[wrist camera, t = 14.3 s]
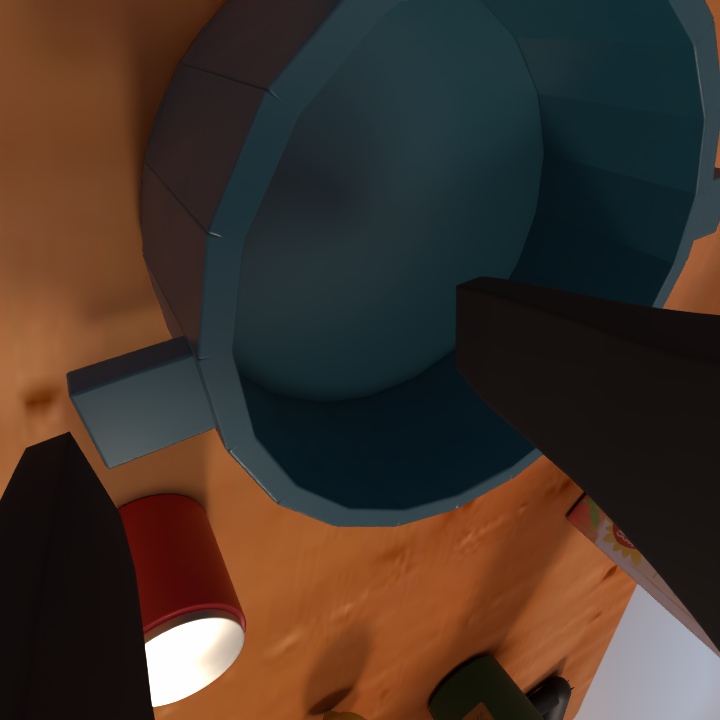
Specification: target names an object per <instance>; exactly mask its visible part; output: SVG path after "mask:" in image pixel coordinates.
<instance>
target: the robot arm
mask: <svg viewBox="0 0 720 720" xmlns="http://www.w3.org/2000/svg"><path fill="white" fill-rule="evenodd" d="M455 368H456V369H457V370H458V371H459V373H460V374H461V375H462V376H463V378H464V379H465V380H466V381H467V383H468V384H469V385H470V386H471V387H472V388H473V390H474V391H475V392H476V393H477V394H478V395H479V396H480V397H481V399H482V400H483V401H484V402H485V403H486V404H487V405H488V406H489V407H490V408H491V409H493V410H494V411H495V412H496V413H497V414H498V415H499V416H500V417H501V418H503V419H504V420H505V421H506V422H507V423H508V424H509V425H510V426H512V427H513V428H514V429H515V430H516V431H517V432H518V433H520V434H521V435H522V436H523V437H524V438H525V439H526V440H528V441H529V442H530V443H531V444H532V445H533V446H535V447H536V448H537V449H538V450H539V451H540V452H541V453H543V454H544V455H545V456H546V457H547V458H548V459H549V460H551V461H552V462H553V463H554V464H555V465H556V466H557V467H559V468H560V469H561V470H562V471H563V472H564V473H565V474H567V475H568V476H569V477H570V478H571V479H572V480H573V481H574V482H575V483H576V484H577V485H578V486H579V487H580V488H581V489H582V490H583V491H584V492H585V493H586V494H587V495H588V496H589V497H590V498H591V499H592V500H593V501H594V502H595V503H596V504H597V505H598V507H599V508H600V509H601V510H602V511H603V512H604V513H605V514H606V515H607V516H608V517H609V518H610V519H611V520H612V522H613V523H614V524H615V525H616V526H617V527H618V528H619V529H620V530H621V531H622V533H623V534H624V535H625V536H626V537H627V538H628V539H629V541H630V542H631V543H632V544H633V545H634V546H635V547H636V549H637V550H638V551H639V552H640V553H641V554H642V555H643V557H644V558H645V559H646V560H647V561H648V562H649V563H650V565H651V566H652V567H653V568H654V569H655V570H656V572H657V573H658V574H659V575H660V577H661V578H662V579H663V580H664V582H665V583H666V584H667V585H668V586H669V588H670V589H671V590H672V591H673V593H674V594H675V595H676V596H677V598H678V599H679V600H680V601H681V602H682V604H683V605H684V606H685V607H686V609H687V610H688V611H689V612H690V614H691V615H692V616H693V617H694V619H695V620H696V621H697V623H698V624H699V625H700V627H701V628H702V629H703V631H704V632H705V633H706V635H707V636H708V637H709V639H710V640H711V641H712V643H713V644H714V645H715V647H716V648H717V649H718V651H719V652H720V315H712V314H702V313H692V312H684V311H676V310H669V309H662V308H656V307H649V306H643V305H637V304H631V303H625V302H619V301H614V300H609V299H603V298H598V297H593V296H588V295H583V294H578V293H573V292H568V291H563V290H559V289H554V288H549V287H544V286H539V285H534V284H529V283H524V282H519V281H513V280H508V279H502V278H495V277H485V276H480V277H477V278H475V279H472V280H469V281H467V282H464V283H461V284H459V285H456V348H455ZM0 720H155V718H154V712H153V705H152V697H151V688H150V680H149V672H148V664H147V656H146V648H145V640H144V631H143V623H142V615H141V607H140V600H139V592H138V584H137V577H136V570H135V566H134V562H133V558H132V554H131V550H130V546H129V543H128V539H127V535H126V532H125V528H124V524H123V521H122V517H121V514H120V513H119V511H118V509H117V508H116V506H115V505H114V503H113V501H112V500H111V498H110V496H109V495H108V493H107V492H106V490H105V488H104V487H103V485H102V483H101V482H100V480H99V479H98V477H97V475H96V474H95V472H94V470H93V469H92V467H91V465H90V464H89V462H88V461H87V459H86V457H85V456H84V454H83V452H82V451H81V449H80V448H79V446H78V444H77V443H76V441H75V439H74V438H73V436H72V435H71V433H70V432H67V433H65V434H62V435H59V436H57V437H54V438H51V439H49V440H46V441H43V442H41V443H38V444H36V445H33V446H30V447H28V448H26V450H25V451H24V453H23V455H22V457H21V459H20V461H19V463H18V465H17V467H16V469H15V471H14V473H13V475H12V477H11V479H10V481H9V483H8V485H7V487H6V489H5V491H4V494H3V496H2V498H1V500H0Z"/></svg>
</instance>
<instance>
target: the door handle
mask: <svg viewBox="0 0 720 720" xmlns="http://www.w3.org/2000/svg"><path fill="white" fill-rule="evenodd" d="M568 681H569V680H568ZM568 681H566V680H565V679H564V678H562V677H559V676H555V677H553V678H551V679H550V680H549V682H548V684H547V685H546V686H544V687H543V688H541V689H540V690H538V691H537V692H535V693H534V694H532V695H531V696H529V697H528V699H529V701H530V702H531V703H532V704H533V705H534V707H535V708H536V709H537V710H538V712H539V713H540V714H541V715H542V717H543V718H544V719H545V720H563V717H564V714H565V711H566V708H567V705H568V702H569V699H570V696H571V690H572V689H573V688H574V687H573V688H570V685H569V683H568Z"/></svg>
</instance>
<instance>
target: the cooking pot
mask: <svg viewBox="0 0 720 720" xmlns="http://www.w3.org/2000/svg"><path fill="white" fill-rule="evenodd" d="M713 19H714V17H713V15H712V13H711V11H710V9H709V7H708V5H707V3H706V1H705V0H228V1H227V2H226V3H225V4H224V5H223V6H222V8H221V9H220V10H219V11H218V12H217V13H216V14H215V15H214V16H213V17H212V19H211V20H210V21H209V22H208V23H207V24H206V25H205V26H204V27H203V28H202V30H201V31H200V33H199V34H198V36H197V37H196V39H195V40H194V42H193V43H192V45H191V46H190V48H189V49H188V51H187V52H186V54H185V55H184V57H183V58H182V60H181V61H180V63H179V64H178V67H177V69H176V71H175V73H174V75H173V77H172V79H171V81H170V83H169V85H168V88H167V90H166V92H165V94H164V96H163V98H162V100H161V102H160V105H159V109H158V112H157V115H156V118H155V121H154V125H153V128H152V131H151V134H150V137H149V140H148V145H147V151H146V155H145V161H144V169H143V175H142V181H141V228H142V237H143V257H144V260H145V263H146V266H147V269H148V271H149V274H150V277H151V281H152V285H153V288H154V291H155V293H156V295H157V298H158V301H159V303H160V306H161V309H162V312H163V315H164V318H165V321H166V324H167V327H168V329H169V331H170V333H171V335H172V338H173V339H171V340H168V341H165V342H162V343H159V344H155V345H152V346H149V347H146V348H143V349H140V350H137V351H133V352H130V353H127V354H124V355H121V356H118V357H115V358H112V359H108V360H105V361H102V362H99V363H96V364H93V365H90V366H86V367H83V368H80V369H77V370H74V371H71V372H69V373H67V385H68V392H69V397H70V399H71V401H72V403H73V405H74V407H75V409H76V411H77V412H78V414H79V416H80V418H81V420H82V422H83V424H84V426H85V428H86V430H87V431H88V433H89V435H90V437H91V439H92V441H93V443H94V445H95V447H96V448H97V450H98V452H99V454H100V456H101V458H102V460H103V462H104V464H105V466H106V467H107V468H109V469H110V468H114V467H116V466H119V465H121V464H124V463H126V462H129V461H131V460H134V459H137V458H139V457H142V456H144V455H147V454H149V453H152V452H154V451H157V450H160V449H162V448H165V447H167V446H170V445H172V444H175V443H177V442H180V441H183V440H185V439H188V438H190V437H193V436H195V435H198V434H200V433H203V432H206V431H208V430H211V429H213V428H216V430H217V432H218V434H219V436H220V439H221V441H222V443H223V445H224V447H225V449H226V450H227V452H228V453H229V454H230V455H231V456H232V457H233V458H234V459H235V460H236V461H237V462H238V463H239V464H240V465H241V467H242V468H243V469H244V470H245V471H246V472H247V473H248V474H249V475H250V476H251V477H252V478H253V479H254V480H255V481H256V483H257V484H258V485H259V486H260V487H261V488H262V489H263V490H264V491H265V492H266V493H267V494H268V495H269V496H270V498H271V499H272V500H273V501H274V502H276V503H277V504H278V505H281V506H283V507H286V508H289V509H291V510H294V511H296V512H299V513H301V514H304V515H307V516H309V517H312V518H314V519H317V520H320V521H322V522H325V523H327V524H330V525H332V526H337V527H396V526H400V525H403V524H407V523H410V522H414V521H417V520H421V519H424V518H428V517H431V516H434V515H438V514H441V513H445V512H448V511H452V510H454V509H456V508H459V507H461V506H463V505H464V504H466V503H468V502H470V501H472V500H474V499H475V498H477V497H479V496H481V495H483V494H485V493H487V492H488V491H490V490H492V489H494V488H496V487H498V486H499V485H501V484H503V483H505V482H507V481H509V480H510V479H513V478H514V477H515V476H517V475H518V474H519V473H520V472H522V471H523V470H524V469H525V468H527V467H528V466H529V465H531V464H532V463H533V462H534V461H536V460H537V459H538V458H539V457H541V456H542V455H543V453H541V452H540V451H539V450H538V449H537V448H536V447H535V446H533V445H532V444H531V443H530V442H529V441H528V440H526V439H525V438H524V437H523V436H522V435H521V434H520V433H518V432H517V431H516V430H515V429H514V428H513V427H512V426H510V425H509V424H508V423H507V422H506V421H505V420H504V419H503V418H501V417H500V416H499V415H498V414H497V413H496V412H495V411H494V410H493V409H491V408H490V407H489V406H488V405H487V404H486V403H485V402H484V401H483V400H482V399H481V397H480V396H479V395H478V394H477V393H476V392H475V391H474V390H473V388H472V387H471V386H470V385H469V384H468V383H467V381H466V380H465V379H464V378H463V376H462V375H461V374H460V373H459V371H458V370H457V369H456V368H455V348H456V285H459V284H461V283H464V282H467V281H469V280H472V279H475V278H477V277H480V276H485V277H495V278H502V279H508V280H513V281H519V282H524V283H529V284H534V285H539V286H544V287H549V288H554V289H559V290H563V291H568V292H573V293H578V294H583V295H588V296H593V297H598V298H603V299H609V300H614V301H619V302H625V303H631V304H637V305H643V306H649V307H656V308H663V306H664V304H665V303H666V301H667V299H668V297H669V295H670V293H671V291H672V289H673V287H674V285H675V283H676V281H677V279H678V277H679V275H680V273H681V271H682V269H683V267H684V265H685V263H686V261H687V259H688V256H689V253H690V250H691V247H692V244H693V241H694V240H696V239H699V238H702V237H704V236H707V235H709V234H712V233H714V232H715V231H716V229H717V226H718V224H719V221H720V168H716V167H715V160H716V153H717V146H718V139H719V131H720V70H719V60H718V51H717V42H716V33H715V23H714V21H713Z"/></svg>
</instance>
